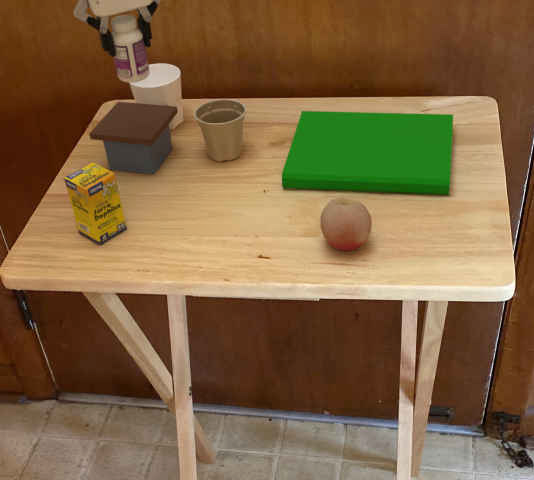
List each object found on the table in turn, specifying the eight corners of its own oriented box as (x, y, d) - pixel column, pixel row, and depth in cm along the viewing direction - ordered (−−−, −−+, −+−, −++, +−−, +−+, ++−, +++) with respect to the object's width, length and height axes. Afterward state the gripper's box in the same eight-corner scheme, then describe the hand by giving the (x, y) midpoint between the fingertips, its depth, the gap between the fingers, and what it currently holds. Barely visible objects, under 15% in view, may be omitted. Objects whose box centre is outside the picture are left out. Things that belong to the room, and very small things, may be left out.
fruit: (373, 230, 130) (373, 188, 125) (369, 261, 124) (369, 218, 119) (323, 228, 132) (322, 186, 126) (317, 259, 126) (315, 216, 120)
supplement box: (100, 246, 132) (85, 189, 125) (78, 233, 136) (62, 177, 128) (128, 229, 135) (115, 172, 128) (105, 216, 139) (91, 161, 131)
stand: (158, 180, 146) (150, 139, 140) (98, 173, 149) (88, 133, 144) (183, 146, 154) (176, 106, 149) (126, 140, 158) (117, 101, 152)
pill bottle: (144, 66, 139) (134, 10, 132) (153, 78, 135) (144, 21, 128) (114, 73, 137) (102, 17, 131) (122, 86, 133) (111, 28, 127)
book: (302, 125, 157) (302, 110, 155) (451, 129, 152) (453, 114, 149) (282, 189, 141) (281, 174, 139) (448, 196, 135) (450, 181, 133)
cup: (192, 128, 159) (185, 81, 152) (142, 139, 157) (132, 91, 151) (181, 106, 166) (174, 59, 160) (133, 115, 165) (124, 69, 158)
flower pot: (209, 138, 156) (203, 96, 150) (256, 142, 153) (252, 100, 147) (193, 164, 149) (186, 122, 143) (242, 168, 147) (237, 125, 141)
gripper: (57, -50, 116) (85, 71, 128) (168, -75, 121) (185, 44, 133) (43, -63, 121) (71, 54, 133) (151, -87, 126) (168, 28, 138)
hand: (128, 48), depth 133 cm, fingers closed on pill bottle, 5 cm apart
